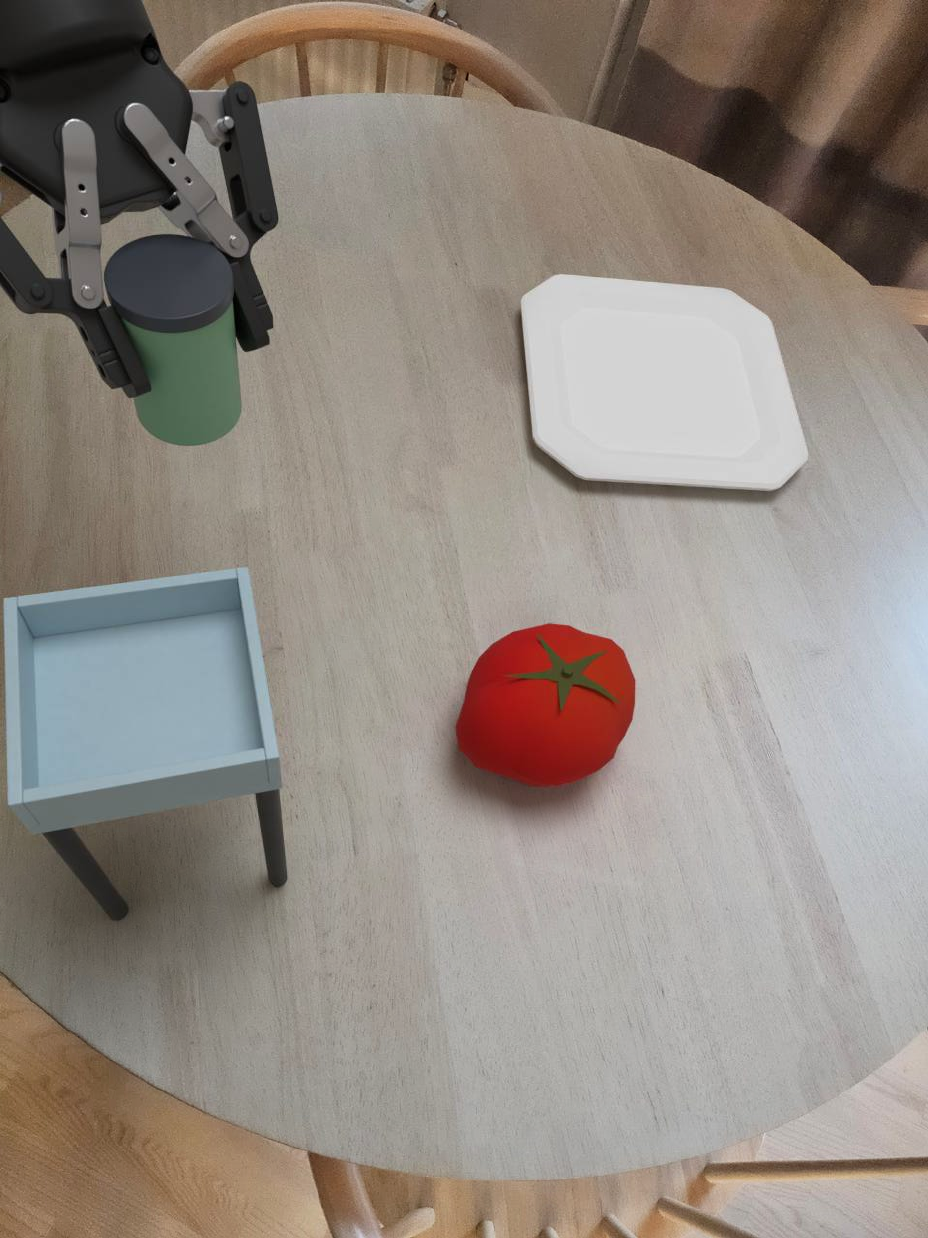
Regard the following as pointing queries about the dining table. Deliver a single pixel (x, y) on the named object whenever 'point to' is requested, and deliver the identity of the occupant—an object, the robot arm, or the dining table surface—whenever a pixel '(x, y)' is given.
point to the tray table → (138, 711)
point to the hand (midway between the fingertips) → (200, 368)
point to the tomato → (547, 705)
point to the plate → (658, 384)
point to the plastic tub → (179, 334)
